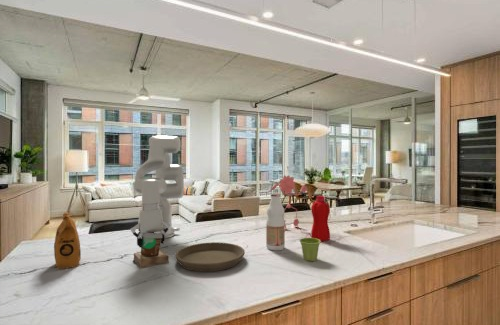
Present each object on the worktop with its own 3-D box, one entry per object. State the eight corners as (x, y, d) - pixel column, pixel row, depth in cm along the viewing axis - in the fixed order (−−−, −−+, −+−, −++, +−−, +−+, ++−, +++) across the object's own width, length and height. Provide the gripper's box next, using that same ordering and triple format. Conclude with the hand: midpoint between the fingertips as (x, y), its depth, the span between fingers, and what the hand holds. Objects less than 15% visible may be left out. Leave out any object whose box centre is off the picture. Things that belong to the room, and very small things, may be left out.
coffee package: (52, 271, 119) (51, 217, 119) (55, 261, 130) (54, 212, 130) (80, 266, 124) (80, 215, 124) (80, 258, 135) (80, 210, 134)
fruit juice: (267, 251, 145) (267, 195, 145) (265, 245, 155) (265, 192, 154) (285, 250, 146) (286, 194, 145) (283, 245, 155) (283, 192, 155)
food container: (132, 252, 131) (135, 229, 131) (144, 250, 135) (147, 229, 136) (147, 258, 123) (150, 234, 124) (160, 256, 128) (162, 233, 129)
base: (160, 254, 139) (160, 248, 139) (168, 262, 130) (168, 255, 130) (133, 259, 132) (133, 252, 132) (141, 267, 123) (141, 260, 123)
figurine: (310, 227, 193) (309, 175, 194) (275, 231, 183) (274, 176, 184) (297, 223, 207) (296, 174, 208) (265, 227, 197) (264, 175, 198)
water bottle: (325, 243, 158) (325, 197, 157) (308, 239, 166) (308, 195, 166) (334, 240, 164) (334, 196, 163) (318, 236, 172) (318, 194, 172)
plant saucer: (170, 255, 140) (170, 245, 140) (231, 247, 152) (231, 238, 152) (182, 279, 111) (182, 268, 111) (255, 267, 123) (255, 257, 123)
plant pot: (308, 264, 127) (308, 244, 127) (295, 257, 135) (295, 239, 135) (324, 260, 131) (325, 241, 131) (311, 254, 140) (311, 236, 140)
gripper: (166, 204, 139) (167, 239, 139) (128, 207, 129) (128, 246, 129) (172, 206, 133) (172, 243, 133) (132, 210, 123) (133, 250, 123)
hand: (151, 244), depth 131 cm, fingers open, 9 cm apart
